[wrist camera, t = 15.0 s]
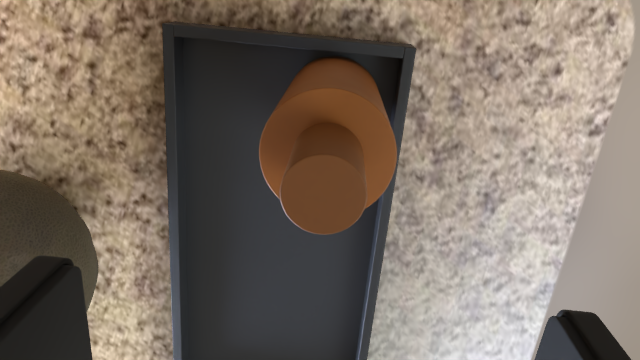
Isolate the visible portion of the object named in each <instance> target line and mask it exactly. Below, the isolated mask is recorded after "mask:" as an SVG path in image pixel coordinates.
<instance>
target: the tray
mask: <svg viewBox="0 0 640 360" xmlns="http://www.w3.org/2000/svg"><path fill="white" fill-rule="evenodd" d="M162 29H163V60H164V90H165V120H166V151H167V181H168V212H169V242H170V272H171V303H172V333H173V360H367V356H368V349H369V343H370V337H371V331H372V324H373V318H374V312H375V305H376V299H377V293H378V286H379V280H380V274H381V267H382V261H383V255H384V249H385V242H386V236H387V230H388V223H389V217H390V211H391V204H392V198H393V192H394V186H395V179H396V173H397V167H398V160H399V154H400V148H401V141H402V135H403V129H404V122H405V116H406V110H407V104H408V97H409V91H410V85H411V78H412V72H413V66H414V59H415V53H416V48H415V47H414V46H412V45H411V44H402V43H392V42H381V41H371V40H360V39H350V38H340V37H329V36H319V35H309V34H298V33H288V32H278V31H267V30H257V29H247V28H236V27H226V26H215V25H205V24H195V23H184V22H169V23H163V24H162ZM326 56H341V57H346V58H349V59H351V60H354V61H356V62H357V63H359V64H360V65H362V66H363V67H364V68H365V69H366V70H367V71H368V72H369V73H370V74H371V76H372V77H373V79H374V81H375V83H376V85H377V88H378V91H379V94H380V96H381V99H382V102H383V105H384V108H385V111H386V113H387V116H388V119H389V122H390V125H391V127H392V130H393V133H394V136H395V140H396V146H397V161H396V167H395V171H394V174H393V177H392V179H391V181H390V183H389V185H388V187H387V188H386V190H385V191H384V193H383V194H382V195H381V196H380V197H379V198H378V199H377V200H376V201H375V202H374V203H373V204H371V205H370V206H369V207H367V208H365V209H364V211H363V213H362V215H361V216H360V218H359V219H358V220H357V221H356V222H355V223H354V224H353V225H352V226H350V227H349V228H347V229H345V230H343V231H341V232H338V233H334V234H326V235H324V234H314V233H311V232H308V231H305V230H303V229H301V228H300V227H298V226H297V225H295V224H294V223H293V222H292V221H291V220H290V219H289V218H288V217H287V215H286V214H285V212H284V210H283V208H282V205H281V202H280V199H279V198H278V197H277V196H276V195H275V194H274V193H273V191H272V190H271V189H270V187H269V185H268V184H267V182H266V180H265V178H264V176H263V173H262V169H261V166H260V160H259V146H260V139H261V135H262V132H263V129H264V127H265V125H266V123H267V121H268V119H269V118H270V116H271V114H272V113H273V111H274V110H275V108H276V106H277V105H278V103H279V102H280V100H281V98H282V97H283V95H284V94H285V92H286V90H287V89H288V87H289V86H290V84H291V82H292V81H293V79H294V78H295V76H296V75H297V73H298V72H299V71H300V70H301V69H302V68H303V67H304V66H306V65H307V64H308V63H310V62H312V61H314V60H316V59H318V58H322V57H326Z"/></svg>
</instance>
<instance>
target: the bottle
mask: <svg viewBox="0 0 640 360" xmlns="http://www.w3.org/2000/svg"><path fill="white" fill-rule="evenodd" d="M259 160H260V166H261V169H262V173H263V176H264V178H265V180H266V182H267V184H268V185H269V187H270V189H271V190H272V191H273V193H274V194H275V195H276V196H277V197H278V198H279V199H280V202H281V205H282V208H283V210H284V212H285V214H286V215H287V217H288V218H289V219H290V220H291V221H292V222H293V223H294V224H295V225H297V226H298V227H300V228H301V229H303V230H305V231H308V232H311V233H314V234H324V235H326V234H334V233H338V232H341V231H343V230H345V229H347V228H349V227H350V226H352V225H353V224H354V223H355V222H356V221H357V220H358V219H359V218H360V216H361V215H362V213H363V211H364V209H365V208H367V207H369V206H370V205H371V204H373V203H374V202H375V201H376V200H377V199H378V198H379V197H380V196H381V195H382V194H383V193H384V191H385V190H386V188H387V187H388V185H389V183H390V181H391V179H392V177H393V174H394V171H395V167H396V161H397V146H396V140H395V136H394V133H393V130H392V127H391V125H390V122H389V119H388V116H387V113H386V111H385V108H384V105H383V102H382V99H381V96H380V94H379V91H378V88H377V85H376V83H375V81H374V79H373V77H372V76H371V74H370V73H369V72H368V71H367V70H366V69H365V68H364V67H363V66H362V65H360V64H359V63H357V62H356V61H354V60H351V59H349V58H346V57H341V56H326V57H322V58H318V59H316V60H314V61H312V62H310V63H308V64H307V65H306V66H304V67H303V68H302V69H301V70H300V71H299V72H298V73H297V75H296V76H295V78H294V79H293V81H292V82H291V84H290V86H289V87H288V89H287V90H286V92H285V94H284V95H283V97H282V98H281V100H280V102H279V103H278V105H277V106H276V108H275V110H274V111H273V113H272V114H271V116H270V118H269V119H268V121H267V123H266V125H265V127H264V129H263V132H262V135H261V139H260V146H259Z"/></svg>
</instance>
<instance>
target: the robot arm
mask: <svg viewBox="0 0 640 360" xmlns="http://www.w3.org/2000/svg"><path fill="white" fill-rule="evenodd" d="M0 360H92V353H91V345H90V337H89V329H88V321H87V313H86V305H85V297H84V289H83V281H82V273H81V270H80V268H79V267H77V266H74V263H73V262H72V260H71V259H69V258H64V257H54V256H45V255H40V256H37V257H35V258H33V259H32V260H31V261H30V262H29V263H28V264H26V265H25V266H24V267H23V268H22V269H21V270H19V271H18V272H17V273H16V274H15V275H14V276H12V277H11V278H10V279H9V280H8V281H7V282H5V283H4V284H3V285H2V286H1V287H0ZM535 360H631V359H630V357H629V356H628V355H627V354H626V352H625V351H624V350H623V348H622V347H621V346H620V345H619V343H618V342H617V340H616V339H615V338H614V337H613V335H612V334H611V333H610V331H609V330H608V329H607V327H606V326H605V325H604V324H603V322H602V321H601V320H600V318H599V317H598V316H597V315H596V314H594V313H591V312H582V311H572V310H561V311H560V312H559V313H558V314H557V316H552V317H550V318H549V320H548V322H547V324H546V327H545V330H544V333H543V336H542V339H541V342H540V345H539V348H538V351H537V354H536V358H535Z"/></svg>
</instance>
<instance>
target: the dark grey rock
mask: <svg viewBox="0 0 640 360" xmlns="http://www.w3.org/2000/svg"><path fill="white" fill-rule="evenodd" d="M40 255H45V256H54V257H64V258H69V259H71V260H72V262H73V263H74V266H77V267H79V268H80V270H81V273H82V281H83V289H84V297H85V305H86V312H87V310H88V308H89V305H90V302H91V300H92V297H93V293H94V289H95V286H96V282H97V277H98V260H97V255H96V251H95V248H94V245H93V242H92V238H91V234H90V231H89V229H88V228H87V226H86V224H85V222H84V221H83V220H82V218H81V217H80V215H79V214H78V213H77V211H76V210H75V209H74V207H73V206H72V205H71V204H70V203H69V202H68V201H67V200H66V199H65V198H64V197H63V196H61V195H60V194H59V193H58V192H56V191H55V190H53V189H52V188H50V187H49V186H47V185H46V184H44V183H42V182H40V181H38V180H35V179H33V178H30V177H27V176H24V175H21V174H18V173H14V172H10V171H4V170H0V287H1V286H2V285H3V284H4V283H5V282H7V281H8V280H9V279H10V278H11V277H12V276H14V275H15V274H16V273H17V272H18V271H19V270H21V269H22V268H23V267H24V266H25V265H26V264H28V263H29V262H30V261H31V260H32V259H33V258H35V257H37V256H40Z"/></svg>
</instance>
